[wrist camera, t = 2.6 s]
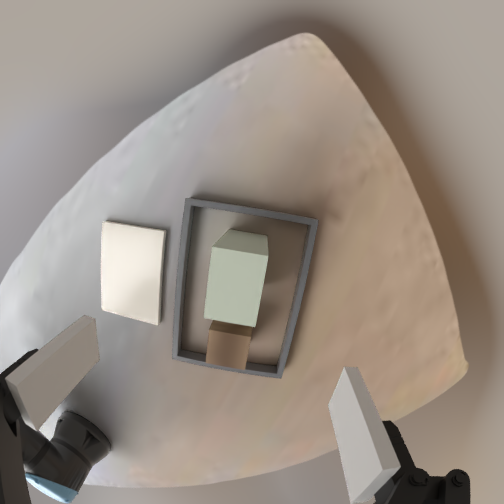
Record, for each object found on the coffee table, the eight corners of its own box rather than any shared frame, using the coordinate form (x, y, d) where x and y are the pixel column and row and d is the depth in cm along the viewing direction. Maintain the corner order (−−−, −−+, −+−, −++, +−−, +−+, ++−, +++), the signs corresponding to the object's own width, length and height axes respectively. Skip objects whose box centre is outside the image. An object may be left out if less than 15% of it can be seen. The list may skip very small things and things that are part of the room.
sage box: (221, 280, 38) (203, 317, 26) (229, 229, 36) (212, 246, 24) (258, 286, 38) (255, 327, 26) (267, 235, 36) (268, 256, 24)
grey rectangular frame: (175, 352, 40) (172, 359, 38) (189, 197, 35) (185, 198, 34) (280, 370, 40) (281, 378, 38) (315, 218, 35) (318, 219, 33)
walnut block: (214, 336, 40) (205, 362, 33) (218, 306, 38) (209, 329, 32) (248, 342, 39) (244, 370, 33) (253, 312, 38) (251, 337, 32)
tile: (104, 307, 40) (101, 309, 39) (106, 220, 37) (102, 221, 36) (160, 322, 39) (158, 325, 38) (166, 230, 36) (164, 231, 36)
